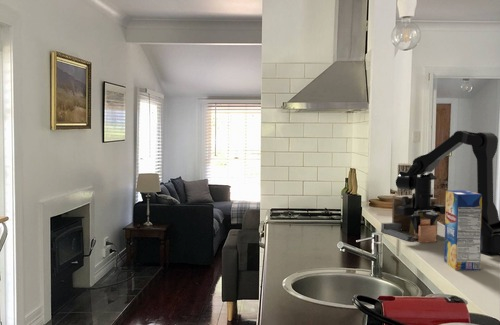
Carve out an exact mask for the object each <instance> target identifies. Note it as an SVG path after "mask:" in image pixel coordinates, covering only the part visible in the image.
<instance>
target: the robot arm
mask: <svg viewBox="0 0 500 325" xmlns="http://www.w3.org/2000/svg"><path fill="white" fill-rule="evenodd" d="M498 143H499V138H498V136H497V135H496V134H495V133H493V132H486V131H485V132H483V131H482V132H471V131H467V130H456V131H455V132H454V133H453V134H452V135H451V136H450V137H448V138H447V139H446V140H444V141H443V142H441V143H440V144H439V145H438V146H436V147H435V148H433V149H432V150H431V151H429V152H427V153H425V154H421V155H419V156H417V157H415V158H414V159H413V160H412V163H411V164H412V166H411V167H410V169H409V170H408V172H405V171H400V175H398V174H397V177H396V180H395V186H396V188H399V189H406V190H412V191H414V193H413V192H412V198H408V196H405V197H402V205H403V206H398V207H397V209H396V214H400V215H404V216H408V217H409V218H410V220H411V222H412V224H413V227H414V230H415V233H416V234H418V232H419V225H420V217H421V216H418V213H424V212H427V213H424V215H425V217H426V218H428V219H430V225H433V223H434V222H435V220H436V219H437V217H438V218H439V217H440V216H441V215H445V208H446V205H442V204H438V205H432V206H431V198H434V194H432V181H434V180H437V179H438V178H437V177H436V176H435V174H434V173H433V171H434V170H435V169H436V168H437V167H438V166H439V163H440V162H441V160H443V159H444V158H446V157H447V156H449V155H450V154H451V153H453V152H454V151H455V150H456V149H458V148H459V147H461V146H462V145H463V144H465V145H467V146H468V145H469V146H471V149H472V152H473V154H474V157H475V159H476V173H477V174H476V177H477V178H476V182H477V183H476V184H477V185H476V186H477V187H476V188H477V189H476V190H477V192H476V193H479V194H482V214H481V251H480V254H484V255H487V256H494V255H495V256H496V255H500V217H499V211H498V209H497V206H496V205H495V203H494V170H493V169H494V165H493V164H494V162H493V160H494V157H495V155H496V153H497V150H498V145H499V144H498ZM426 173H427V174H426ZM404 205H406V206H404ZM437 212H438V213H440V214H441V215H440V214H438V215H437ZM437 220H438V219H437Z"/></svg>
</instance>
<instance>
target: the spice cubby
mask: <svg viewBox="0 0 500 325" xmlns="http://www.w3.org/2000/svg"><path fill="white" fill-rule="evenodd" d="M412 195H413V194H412ZM412 195H401V196H397V195H392V204H391V205H392V210H391V211H392V212H391V215H392V216H391V217H392V219H391V220H392V221H391V223H394V222H400V223H402V231H405V230H407V231H409V230H410V224H411V220H410V218H409V217H408V216H404V215H400V214H396V209H397V207H398V206H403V205H402V197H405V196H408V198H412ZM432 205H439V199H438V198H435V197H431V206H432ZM404 206H406V205H404ZM424 213H427V212H424ZM424 213H423V218H426V217H425V215H424ZM437 215H439V212H437ZM438 218H439V217H437V219H436V220H435V222H434V223H433V225H436V234H437V235H438Z"/></svg>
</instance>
